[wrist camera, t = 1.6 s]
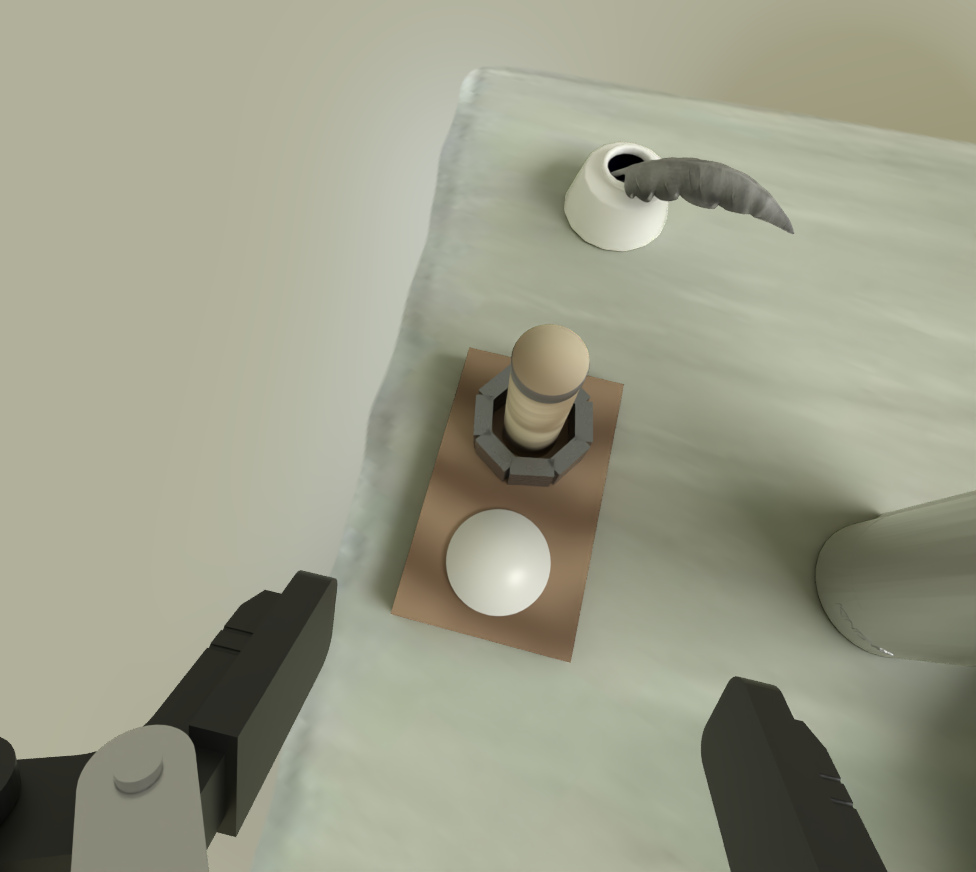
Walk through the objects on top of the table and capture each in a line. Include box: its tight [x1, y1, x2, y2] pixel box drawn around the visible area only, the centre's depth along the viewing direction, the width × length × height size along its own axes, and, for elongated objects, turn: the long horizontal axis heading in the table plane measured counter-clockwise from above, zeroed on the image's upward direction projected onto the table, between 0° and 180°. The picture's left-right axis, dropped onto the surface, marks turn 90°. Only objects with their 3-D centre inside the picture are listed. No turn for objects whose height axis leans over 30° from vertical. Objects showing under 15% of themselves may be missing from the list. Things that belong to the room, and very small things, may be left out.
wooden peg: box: [502, 324, 590, 458], centre depth 34 cm, size 4×4×12 cm
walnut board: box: [391, 348, 624, 662], centre depth 39 cm, size 20×12×2 cm, turn 166°
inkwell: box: [564, 141, 794, 252], centre depth 43 cm, size 9×18×10 cm, turn 50°
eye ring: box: [473, 365, 593, 487], centre depth 38 cm, size 8×8×3 cm
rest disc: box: [446, 509, 551, 616], centre depth 37 cm, size 7×7×1 cm
